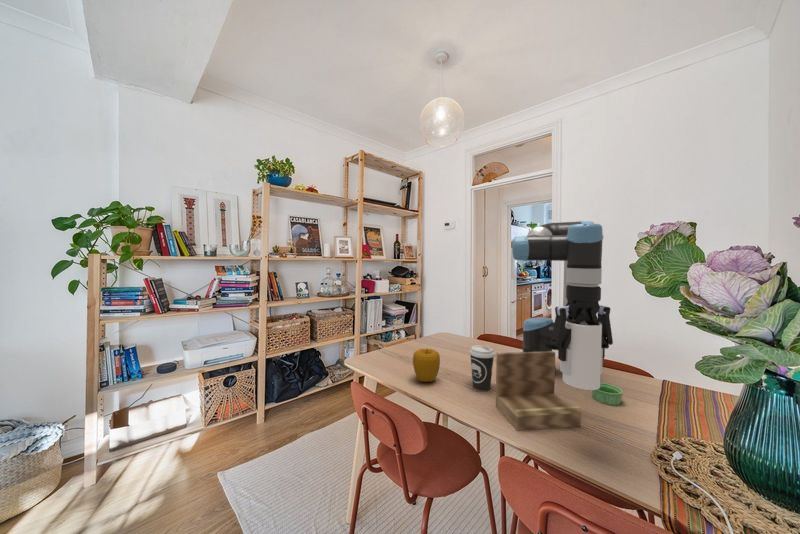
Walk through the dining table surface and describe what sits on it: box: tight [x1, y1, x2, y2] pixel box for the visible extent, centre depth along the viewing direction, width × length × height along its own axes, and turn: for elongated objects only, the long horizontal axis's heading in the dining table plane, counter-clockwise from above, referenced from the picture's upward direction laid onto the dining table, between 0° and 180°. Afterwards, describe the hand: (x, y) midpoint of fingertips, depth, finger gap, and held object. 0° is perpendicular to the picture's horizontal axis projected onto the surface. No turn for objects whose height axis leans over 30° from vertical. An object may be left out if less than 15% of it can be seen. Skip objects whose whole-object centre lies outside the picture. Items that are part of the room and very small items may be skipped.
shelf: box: [495, 350, 582, 431], centre depth 89 cm, size 20×14×18 cm
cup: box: [562, 319, 602, 391], centre depth 73 cm, size 8×8×16 cm
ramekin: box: [591, 381, 624, 406], centre depth 100 cm, size 9×9×4 cm
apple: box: [412, 348, 441, 383], centre depth 115 cm, size 11×11×13 cm
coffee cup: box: [468, 344, 496, 392], centre depth 109 cm, size 10×10×15 cm
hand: (580, 371), depth 74 cm, fingers closed on cup, 8 cm apart
